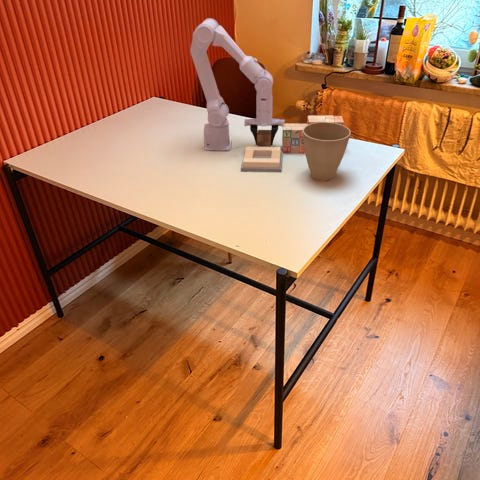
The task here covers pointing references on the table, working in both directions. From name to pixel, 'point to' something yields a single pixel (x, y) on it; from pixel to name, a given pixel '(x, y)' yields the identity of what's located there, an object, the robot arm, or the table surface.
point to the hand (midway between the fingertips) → (264, 143)
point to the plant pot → (325, 148)
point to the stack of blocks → (294, 132)
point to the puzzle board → (262, 159)
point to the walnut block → (264, 138)
